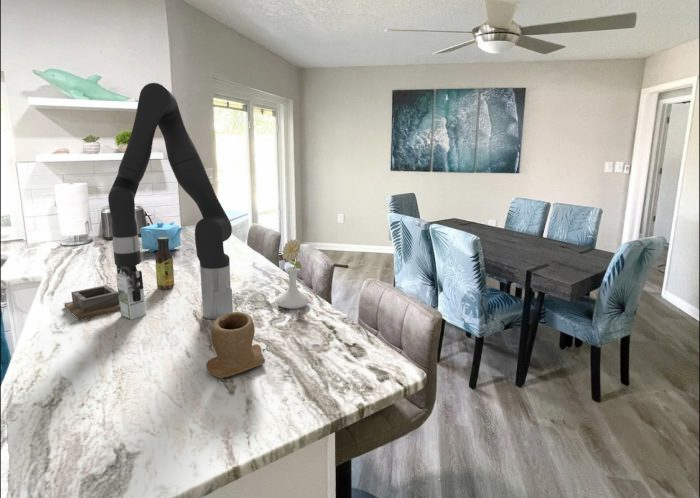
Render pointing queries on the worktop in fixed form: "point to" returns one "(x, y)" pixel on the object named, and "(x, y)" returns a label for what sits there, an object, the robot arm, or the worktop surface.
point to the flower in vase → (292, 279)
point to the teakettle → (160, 235)
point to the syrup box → (129, 299)
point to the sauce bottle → (164, 265)
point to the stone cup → (233, 345)
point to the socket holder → (93, 302)
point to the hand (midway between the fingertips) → (131, 297)
